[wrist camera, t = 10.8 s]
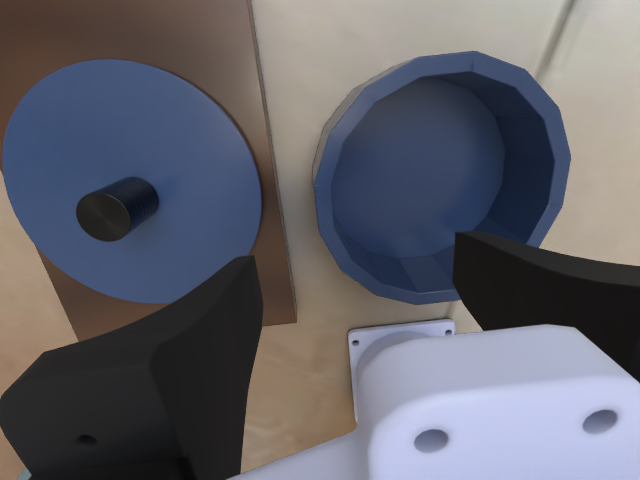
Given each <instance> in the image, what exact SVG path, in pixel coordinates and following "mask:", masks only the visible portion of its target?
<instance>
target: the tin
mask: <svg viewBox="0 0 640 480" xmlns="http://www.w3.org/2000/svg"><path fill="white" fill-rule="evenodd" d="M570 156H571V154H570V150H569V146H568V142H567V137H566V133H565V129H564V125H563V121H562V117H561V113H560V110H559V107H558V106H557V105H556V104H555V103H554V101H553V100H552V99H551V98H550V97H549V96H548V94H547V93H546V92H545V91H544V90H543V89H542V88H541V86H540V85H539V84H538V83H537V82H536V81H535V79H534V78H533V77H532V76H531V75H530V74H529V73H528V71H526V70H525V69H523V68H520V67H518V66H515V65H512V64H510V63H507V62H504V61H502V60H499V59H496V58H494V57H491V56H488V55H485V54H483V53H480V52H477V51H468V52H459V53H450V54H441V55H432V56H423V57H417V58H414V59H412V60H409V61H406V62H404V63H401V64H398V65H396V66H393V67H391V68H389V69H388V70H386V71H384V72H382V73H381V74H379V75H377V76H375V77H373V78H371V79H370V80H368V81H367V82H365V83H363V84H362V85H360V86H358V87H356V88H355V89H353V90H352V91H351V92H350V94H349V95H348V96H347V97H346V99H345V100H344V101H343V102H342V104H341V105H340V106H339V107H338V108H337V109H336V111H335V112H334V114H333V115H332V117H331V118H330V119H329V121H328V122H327V123H326V124H325V127H324V128H323V132H322V135H321V139H320V142H319V144H318V147H317V152H316V156H315V159H314V163H313V166H312V174H313V183H314V192H315V201H316V210H317V219H318V228H319V232H320V235H321V237H322V239H323V240H324V242H325V244H326V245H327V247H328V249H329V251H330V252H331V254H332V256H333V257H334V259H335V261H336V263H337V264H338V266H339V268H340V269H341V270H342V271H343V272H344V273H345V274H347V275H348V276H350V277H351V278H352V279H354V280H355V281H357V282H358V283H359V284H361V285H362V286H363V287H365V288H366V289H368V290H369V291H370V292H372V293H373V294H376V295H377V296H382V297H386V298H390V299H394V300H398V301H402V302H406V303H410V304H414V305H416V304H417V305H421V304H430V303H439V302H448V301H457V300H461V298H460V296H459V295H458V293H457V291H456V289H455V287H454V285H453V283H452V279H453V262H454V246H455V232H463V231H480V232H484V233H488V234H492V235H495V236H499V237H502V238H506V239H509V240H512V241H516V242H519V243H522V244H526V245H529V246H533V247H537V248H539V246H540V245H541V243H542V241H543V239H544V238H545V236H546V234H547V233H548V231H549V229H550V227H551V226H552V224H553V222H554V220H555V219H556V217H557V215H558V213H559V212H560V210H561V208H562V205H563V201H564V195H565V190H566V184H567V178H568V173H569V167H570V161H571V157H570Z"/></svg>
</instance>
